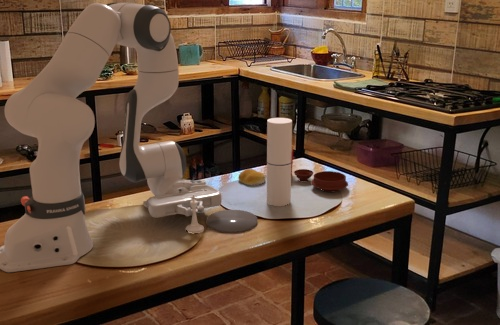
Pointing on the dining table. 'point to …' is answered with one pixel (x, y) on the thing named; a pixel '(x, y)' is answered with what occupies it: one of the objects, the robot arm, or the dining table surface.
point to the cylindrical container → (279, 161)
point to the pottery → (323, 179)
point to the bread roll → (251, 177)
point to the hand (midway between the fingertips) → (195, 211)
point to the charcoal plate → (231, 221)
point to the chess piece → (194, 218)
